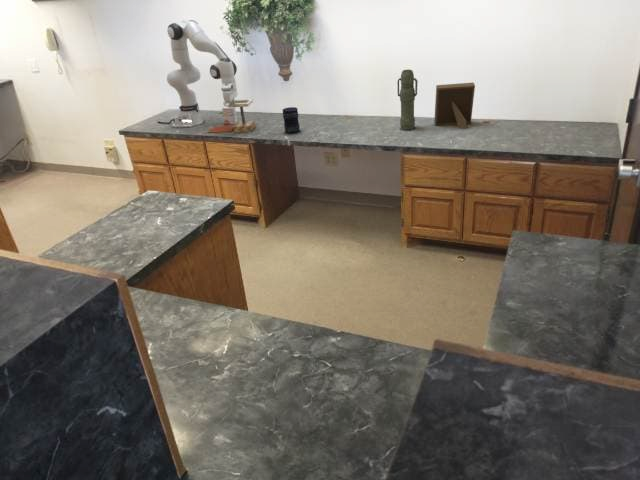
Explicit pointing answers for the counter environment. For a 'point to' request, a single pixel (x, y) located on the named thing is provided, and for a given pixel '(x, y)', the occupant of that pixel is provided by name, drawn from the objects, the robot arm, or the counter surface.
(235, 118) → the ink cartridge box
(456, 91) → the photo frame
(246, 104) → the loop
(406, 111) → the thermos
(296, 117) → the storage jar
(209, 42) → the robot arm
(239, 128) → the stand
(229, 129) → the mat
